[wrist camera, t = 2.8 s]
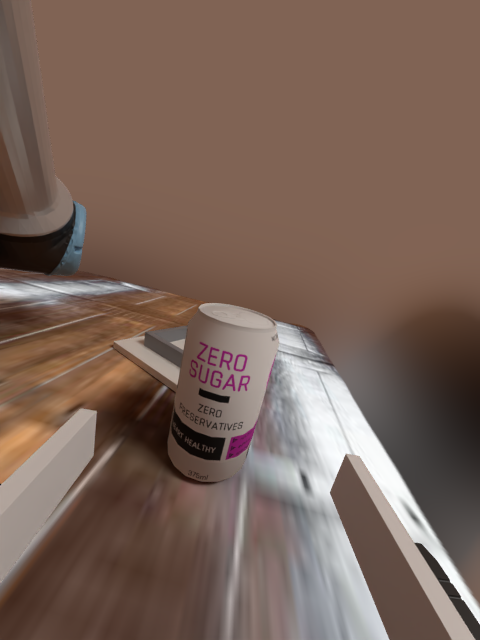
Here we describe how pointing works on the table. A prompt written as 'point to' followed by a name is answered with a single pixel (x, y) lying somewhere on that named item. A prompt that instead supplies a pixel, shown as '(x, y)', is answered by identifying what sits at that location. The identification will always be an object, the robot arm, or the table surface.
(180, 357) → the socket board
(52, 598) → the table surface
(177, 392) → the supplement can
